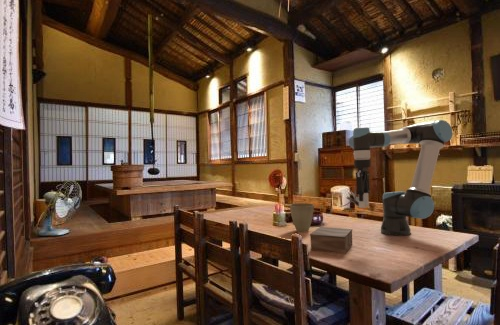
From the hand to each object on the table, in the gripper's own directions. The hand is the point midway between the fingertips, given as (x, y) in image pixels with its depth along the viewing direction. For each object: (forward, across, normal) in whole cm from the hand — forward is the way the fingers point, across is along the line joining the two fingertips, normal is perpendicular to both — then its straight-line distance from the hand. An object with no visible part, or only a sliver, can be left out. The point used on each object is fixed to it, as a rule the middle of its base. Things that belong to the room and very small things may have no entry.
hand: (363, 206), depth 143 cm
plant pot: (+19, -16, -42) cm, 49 cm away
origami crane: (0, +1, -5) cm, 5 cm away
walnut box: (+20, +9, -13) cm, 25 cm away
